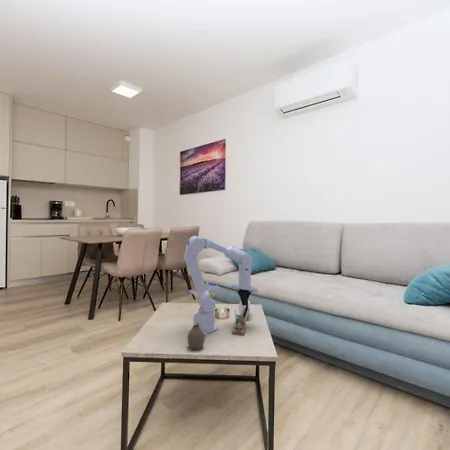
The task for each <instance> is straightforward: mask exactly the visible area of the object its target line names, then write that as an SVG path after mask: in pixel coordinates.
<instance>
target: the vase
mask: <svg viewBox="0 0 450 450" xmlns="http://www.w3.org/2000/svg"><path fill="white" fill-rule="evenodd" d="M205 339H206V336H205V335H204V333H203V331H202V330H201V328H200V327H199V325H194V324H193V326H192V327H191V329H190V330H189V332H188V333H187V345H188V347H189V348H190V349H192V350H200V349H201V348H202V347H203V346H204V344H205Z"/></svg>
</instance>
